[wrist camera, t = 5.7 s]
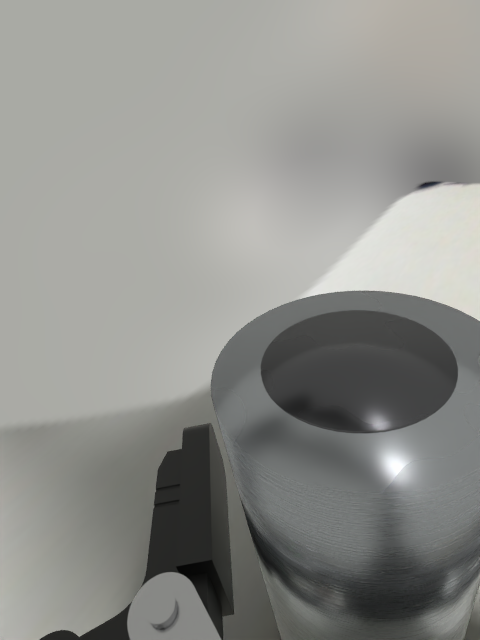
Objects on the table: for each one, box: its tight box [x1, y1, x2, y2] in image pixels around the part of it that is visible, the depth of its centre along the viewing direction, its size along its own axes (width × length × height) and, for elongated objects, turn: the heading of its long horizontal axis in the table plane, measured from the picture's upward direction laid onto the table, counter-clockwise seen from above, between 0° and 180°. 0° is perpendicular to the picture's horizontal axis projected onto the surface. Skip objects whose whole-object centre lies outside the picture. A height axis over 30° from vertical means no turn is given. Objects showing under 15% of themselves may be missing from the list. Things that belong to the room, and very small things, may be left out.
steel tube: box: [211, 291, 480, 640], centre depth 9 cm, size 5×5×10 cm
